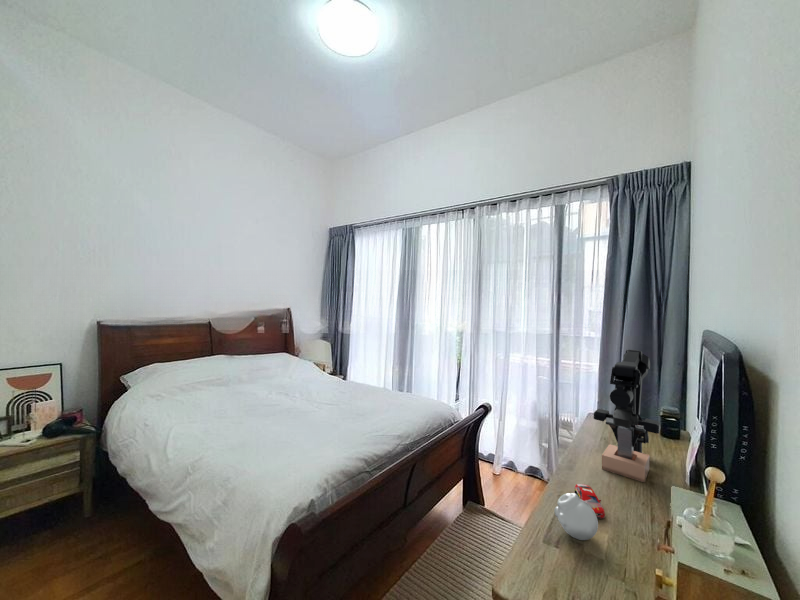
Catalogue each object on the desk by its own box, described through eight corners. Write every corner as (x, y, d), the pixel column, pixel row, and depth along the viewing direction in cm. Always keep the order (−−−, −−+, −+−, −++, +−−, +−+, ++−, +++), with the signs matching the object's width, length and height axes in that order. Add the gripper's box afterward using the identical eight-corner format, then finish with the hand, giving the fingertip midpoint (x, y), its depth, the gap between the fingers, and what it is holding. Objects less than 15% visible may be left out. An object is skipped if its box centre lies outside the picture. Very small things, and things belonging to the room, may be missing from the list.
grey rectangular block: (619, 452, 114) (619, 424, 114) (633, 456, 111) (633, 427, 111) (617, 456, 111) (617, 427, 111) (631, 459, 108) (631, 430, 108)
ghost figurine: (562, 517, 85) (562, 480, 85) (602, 536, 78) (602, 496, 78) (548, 533, 79) (548, 493, 79) (591, 556, 72) (591, 512, 72)
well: (609, 457, 119) (609, 444, 119) (649, 469, 111) (649, 455, 111) (601, 469, 111) (601, 454, 111) (644, 482, 102) (644, 467, 103)
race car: (607, 523, 84) (607, 508, 84) (584, 519, 85) (584, 504, 85) (592, 494, 96) (592, 481, 96) (573, 491, 98) (573, 478, 98)
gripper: (589, 399, 112) (589, 443, 112) (656, 412, 99) (656, 462, 99) (597, 393, 120) (597, 434, 120) (660, 404, 107) (660, 450, 107)
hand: (625, 444), depth 111 cm, fingers closed on grey rectangular block, 4 cm apart
